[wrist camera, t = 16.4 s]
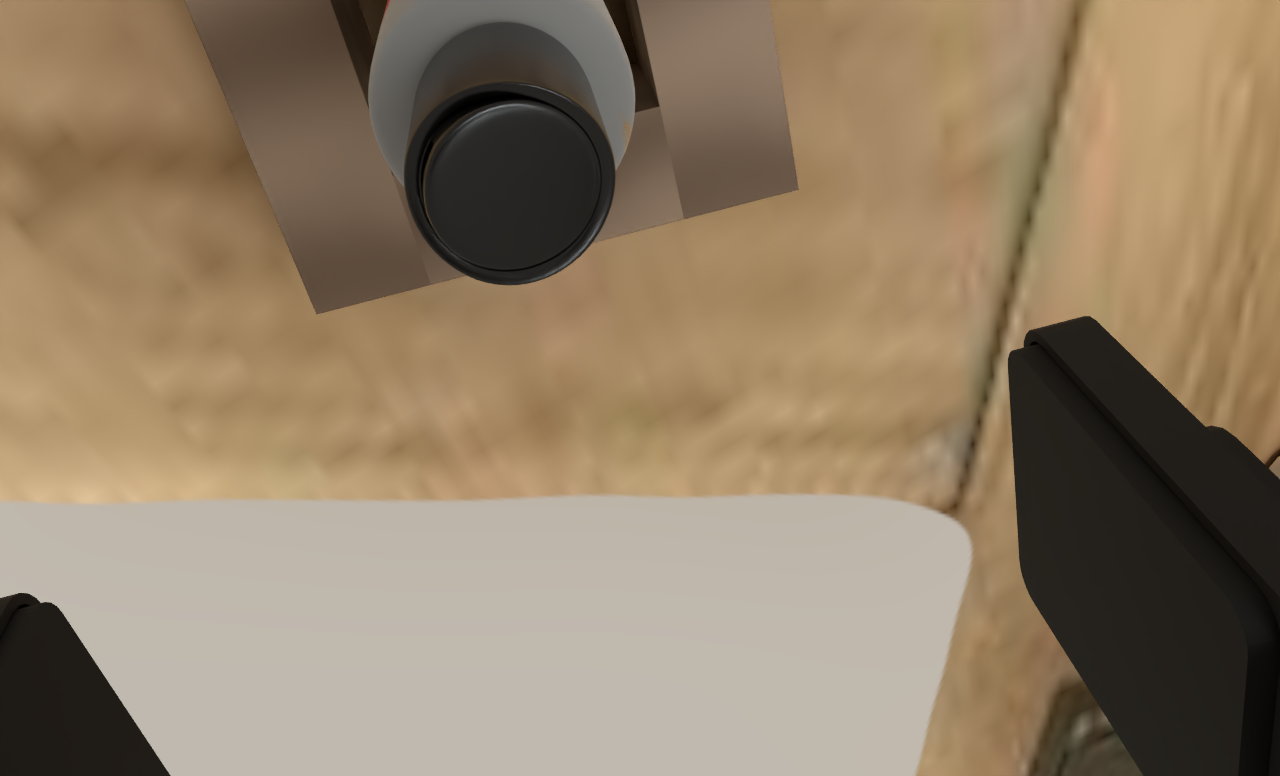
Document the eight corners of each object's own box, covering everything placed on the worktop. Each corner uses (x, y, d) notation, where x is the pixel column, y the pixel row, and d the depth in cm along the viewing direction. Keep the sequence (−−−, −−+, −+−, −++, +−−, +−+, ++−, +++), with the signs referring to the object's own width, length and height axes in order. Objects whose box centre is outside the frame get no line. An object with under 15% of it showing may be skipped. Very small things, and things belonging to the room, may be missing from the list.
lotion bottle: (411, -144, 35) (360, -3, 18) (593, -105, 36) (707, 62, 19) (392, 42, 38) (330, 318, 21) (562, 72, 39) (637, 357, 22)
